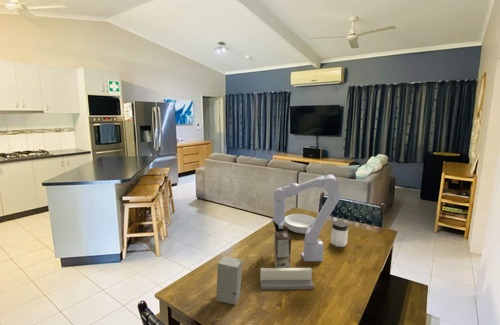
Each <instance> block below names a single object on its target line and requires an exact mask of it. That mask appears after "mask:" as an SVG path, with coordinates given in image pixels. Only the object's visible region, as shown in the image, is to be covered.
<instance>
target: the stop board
mask: <svg viewBox="0 0 500 325" xmlns="http://www.w3.org/2000/svg"><path fill="white" fill-rule="evenodd" d="M259 271H260V273H259V274H260V276H259V277H260V279H259V280H260V283H259V284H260V289H261V290H314V289H315V285H314V283H313V280H312V279H313V278H312V277H313V276H312V275H313V270H312V268H311V267H290V268H276V267H260V270H259Z"/></svg>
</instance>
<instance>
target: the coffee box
mask: <svg viewBox="0 0 500 325" xmlns="http://www.w3.org/2000/svg"><path fill="white" fill-rule="evenodd" d="M273 248H274V249H273V250H274V251H273V252H274V255H273V263H274V266H275V267H274V268H291V252H292V237H291V236H290V234H289V233H288V231H287V230H284V231H279V232H276V231H274V247H273Z"/></svg>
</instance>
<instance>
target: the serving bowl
mask: <svg viewBox="0 0 500 325" xmlns="http://www.w3.org/2000/svg"><path fill="white" fill-rule="evenodd" d="M315 219H316V217H314V216H311V215H309V214H305V213H292V214H288V215H285V222H284V225H285V228H287V229H288V230H290V231H291V232H294V233H295V234H296V233H297V234H303V235H304V234H306V229H307V227H308V226H310V225H311V224H312V222H314V220H315Z"/></svg>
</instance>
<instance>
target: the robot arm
mask: <svg viewBox="0 0 500 325" xmlns="http://www.w3.org/2000/svg"><path fill="white" fill-rule="evenodd" d="M339 185H340V184H339V181H338V179H337V177H336V176H335V175H334V174H332V173H330V174H329V173H328V174H326V175H320V176H317V177H315V178H313V179H309V180H307V181H305V182H302V183H296V182H290V184H288V185H286V186H281V187H277V188H276V189H275V191H274V192H273V198H274V202H273V218H270V221H271V222H272V223H273V226H274V230H275V231H274V232H279V231H285V229H286V225H285V217H286V198H287V199H288V198H291V197H294V196H297V195H300V194H301V192H303V191H305V190H308V189H312V188H316V187H317V188H319V189H324V190H325V191H326V192H327V194H328V198H327V199H326V200H325V202H324V204H323V205H322V207H321V209H320V211H319V212H318V214H317V215H316V217H315V218H316V219H315V220H314V222H312V224H311V225H310V226H308V227H307V229H306V233H305V235H304V239H303V252H300V255H301V256H302V259H303V261H304V262H324V242H323V241H322V240H319V236H320V234H321V231H322V228H323V227H324V225H325V223H326V222H327V220H328V218H329V217H330V215H331V214H332V212H333V211H334V210H335V207H336V206H337V204H338V203H339V201H340V200H341V194H340V192H341V191H340V186H339Z"/></svg>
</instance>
